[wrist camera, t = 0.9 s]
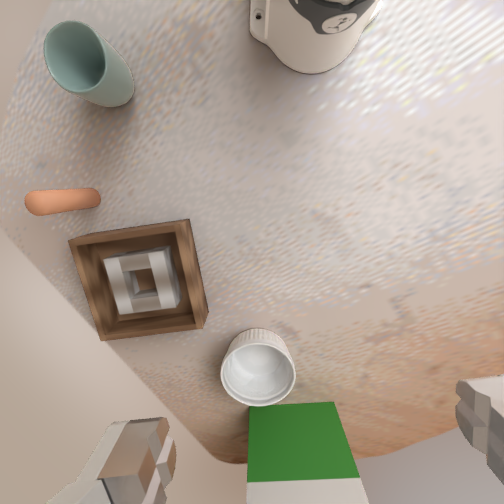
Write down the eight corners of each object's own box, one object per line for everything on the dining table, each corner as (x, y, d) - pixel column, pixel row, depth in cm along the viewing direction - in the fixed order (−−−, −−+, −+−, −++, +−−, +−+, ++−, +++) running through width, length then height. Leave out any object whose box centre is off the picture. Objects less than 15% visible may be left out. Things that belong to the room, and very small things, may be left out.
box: (90, 233, 48) (67, 240, 43) (189, 218, 47) (180, 224, 42) (117, 323, 53) (100, 341, 47) (208, 311, 52) (202, 328, 46)
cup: (149, 104, 43) (117, 82, 33) (104, 119, 44) (60, 102, 34) (130, 49, 41) (91, 9, 31) (83, 66, 42) (31, 31, 32)
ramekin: (227, 381, 56) (223, 408, 49) (221, 323, 53) (216, 344, 46) (291, 378, 56) (296, 406, 49) (290, 320, 52) (295, 341, 46)
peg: (79, 189, 46) (20, 192, 35) (97, 186, 46) (44, 189, 35) (85, 208, 47) (29, 217, 36) (103, 205, 47) (52, 214, 36)
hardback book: (333, 401, 57) (387, 554, 34) (333, 430, 59) (384, 593, 35) (249, 406, 57) (244, 559, 34) (252, 434, 59) (249, 597, 36)
